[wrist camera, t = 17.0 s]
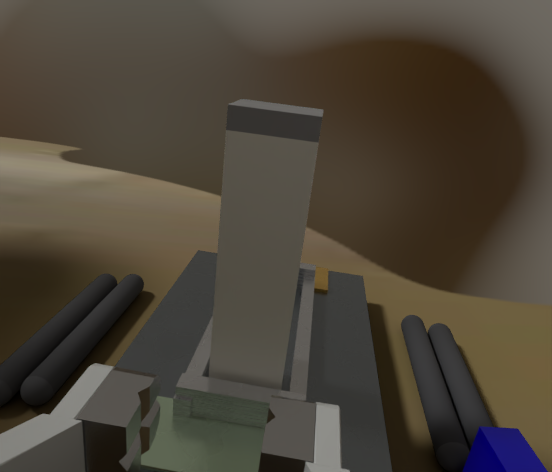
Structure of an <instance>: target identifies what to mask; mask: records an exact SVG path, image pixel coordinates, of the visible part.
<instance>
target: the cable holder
mask: <svg viewBox="0 0 552 472" xmlns="http://www.w3.org/2000/svg"><path fill="white" fill-rule="evenodd" d="M462 472H548V471H547V470H546V468H545V467H544V466H543V464H542V463H541V461H540V460H539V458H538V457H537V456H536V454H535V453H534V451H533V450H532V448H531V447H530V446H529V444H528V443H527V441H526V440H525V438H524V437H523V436H522V434H521V433H520V431H519V430H518V429H514V428H498V427H483V426H479V429H478V432H477V434H476V437H475V440H474V442H473V445H472V447H471V450H470V453H469V455H468V458H467V461H466V463H465V466H464V469H463V471H462Z"/></svg>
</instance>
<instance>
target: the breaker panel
mask: <svg viewBox="0 0 552 472" xmlns="http://www.w3.org/2000/svg"><path fill="white" fill-rule="evenodd" d="M216 266H217V253H211V252H205V251H199V250H198V252H197V253H196V254H195V256H194V257H193V258H192V260H191V261H190V263H189V264H188V265H187V267H186V268H185V270H184V271H183V272H182V274H181V275H180V277H179V278H178V279H177V281H176V282H175V283H174V285H173V286H172V288H171V289H170V290H169V292H168V293H167V295H166V296H165V297H164V299H163V300H162V302H161V303H160V304H159V306H158V307H157V309H156V310H155V311H154V313H153V314H152V315H151V317H150V318H149V320H148V321H147V322H146V324H145V325H144V327H143V328H142V329H141V331H140V332H139V334H138V335H137V336H136V338H135V339H134V341H133V342H132V343H131V345H130V346H129V347H128V349H127V350H126V352H125V353H124V354H123V356H122V357H121V359H120V360H119V361H118V363H117V364H116V366H115V367H120V368H125V369H130V370H135V371H140V372H145V373H150V374H155V375H158V376H159V377H160V378H161V390H160V392H159V394H158V396H157V398H156V400H157V401H158V403H159V404H160V419H159V425H158V428H157V432H156V435H155V438H154V441H153V443H152V445H151V447H150V449H149V450H148V451H147V452H145V453H144V454H142V455H141V468H140V470H139V472H258V470H259V463H260V456H261V449H262V444H263V438H264V432H265V426H266V424H267V417H268V410H269V405H270V399H271V395H275V396H281V397H287V398H293V399H299V400H305V401H311V402H315V403H316V402H320V403H326V404H333V405H338V406H339V408H340V420H341V452H342V469H347V470H350V472H392V466H391V460H390V453H389V446H388V440H387V433H386V427H385V420H384V413H383V407H382V400H381V394H380V387H379V380H378V374H377V367H376V360H375V354H374V347H373V341H372V334H371V327H370V321H369V314H368V308H367V301H366V294H365V288H364V281H363V276H359V275H352V274H346V273H340V272H333V271H328V269H326V268H320V267H316V265H312V264H305V263H300V268H299V275H298V281H297V288H296V295H295V301H294V308H293V315H292V321H291V328H290V334H289V341H288V348H287V354H286V361H285V367H284V374H283V380H282V387H281V390H278V389H272V388H266V387H260V386H255V385H249V384H243V383H238V382H232V381H226V380H221V379H215V378H209V365H210V351H211V337H212V323H213V309H214V295H215V281H216Z"/></svg>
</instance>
